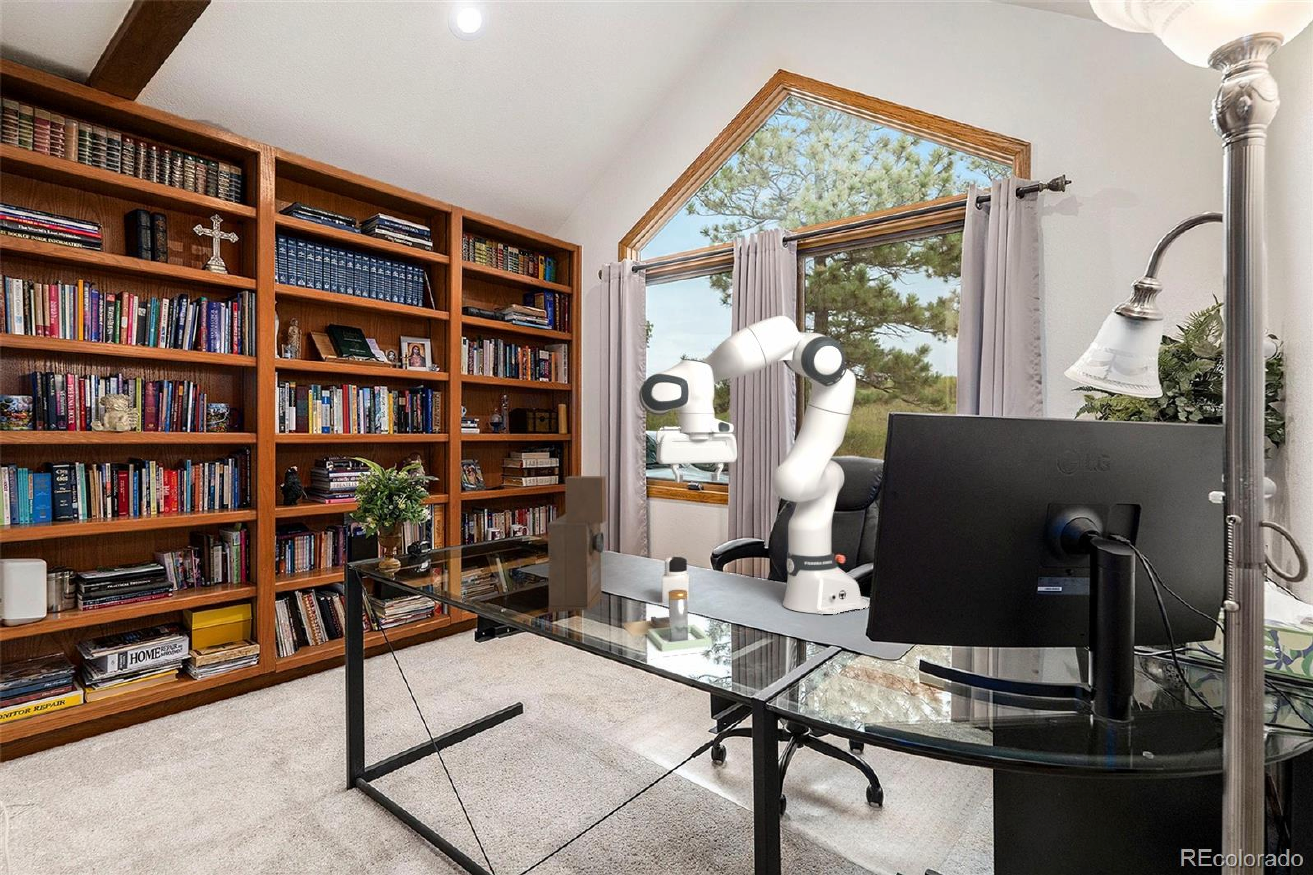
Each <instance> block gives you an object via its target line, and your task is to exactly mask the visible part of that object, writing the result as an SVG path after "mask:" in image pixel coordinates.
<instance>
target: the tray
mask: <svg viewBox="0 0 1313 875" xmlns="http://www.w3.org/2000/svg"><path fill="white" fill-rule="evenodd" d="M688 634H692V635H694V636H695V637H696V639H688V640H686V641H676V642H670V641H669V642H665V641H664V640H663V639H662V638H661V637H664V636H670V628H669V627H667V628H657V629H648V634H647V637H648V638H649V639H650V640H651V641H652V642H653V644H655V646H656V647H657V648H658V649H659V651H661V652H662V653H663V652H670V651H679V650H688V649H689V650H690V649H696V648H697V649H698V648H707V647H712V646H713V641H712V640H713V639H712V638H711V637H710V636H708V635H707V634H706V633H705V632H703V631H702V630H701V629H700V628H699V627H697V626H696V625H695V624H688ZM709 652H710V653H711V652H712V650H711V651H708V653H709ZM693 654H696V652H693V653H691V655H693ZM700 654H704V651H702V652H700ZM686 655H687V653H686V654H685V653H684V654H682V656H686ZM676 656H678V655H677V654H675V655H673V657H676ZM666 657H667V658H668V657H669V655H667V656H664V658H666Z"/></svg>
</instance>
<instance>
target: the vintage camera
mask: <svg viewBox="0 0 1313 875" xmlns="http://www.w3.org/2000/svg"><path fill="white" fill-rule="evenodd" d="M606 478H607V477H606V475H599V476H598V475H595V476H594V475H593V476H592V475H590V476H589V475H586V476H585V475H584V476H582V475H576V476H575V475H573V476H571V475H570V476H567V477H564V479H565V481H564V484H565V486H564V488H565V489H564V490H565V493H564V494H565V497H564V500H565V502H564V503H565V513H564V514H563V515H560V516H559V517H557V518H555V519H554V520H552V521H550V522H548V523H547V544H548V545H547V547H548V548H547V549H548V551H547V554H548V613H549V614H550V613H561V612H573V611H588V610H592V609H593V608H594V607H595V606H596V604H597V603H598V601H599V600H600V599H601V597H602V596H601V595H602V593H603V592H602V575H601V574H602V572H601V571H602V565H601V564H602V562H601V561H602V560H601V554H602V553H603V551H604V547H605V545H604V544H605V540H604V539H605V538H604V533H603V532H602V531H601V524H604V523H605V522H606V521H607V494H606V493H607V492H606V491H607V490H606V489H607V488H606V487H607V486H606V485H607V482H606V481H607V480H606Z"/></svg>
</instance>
